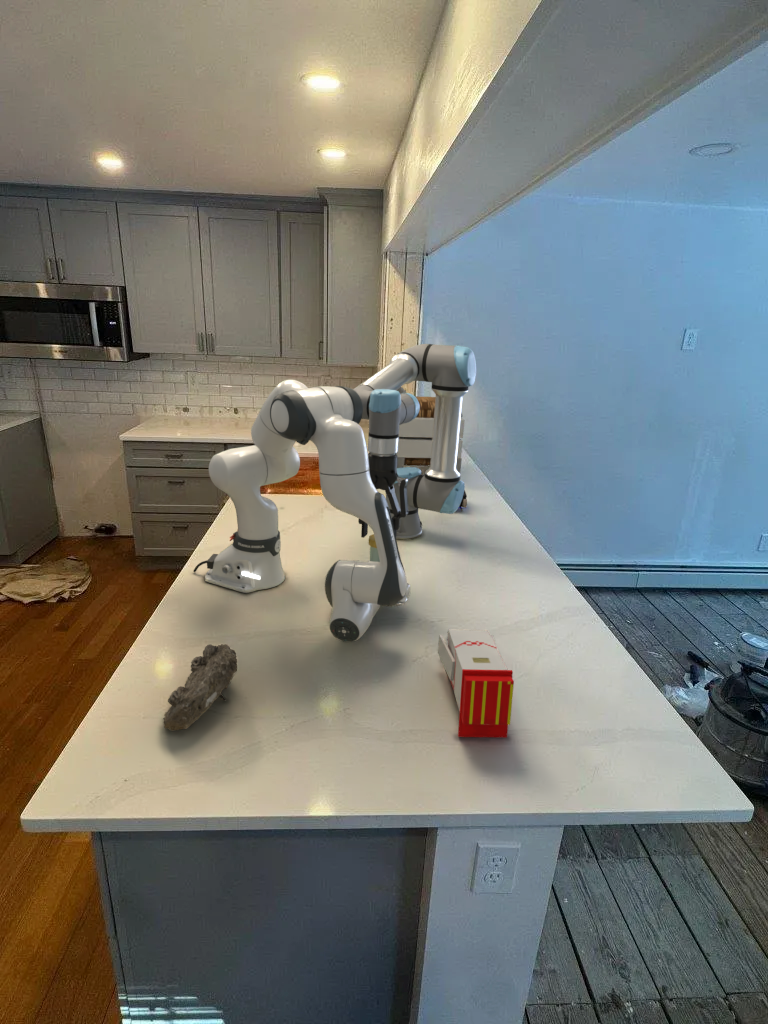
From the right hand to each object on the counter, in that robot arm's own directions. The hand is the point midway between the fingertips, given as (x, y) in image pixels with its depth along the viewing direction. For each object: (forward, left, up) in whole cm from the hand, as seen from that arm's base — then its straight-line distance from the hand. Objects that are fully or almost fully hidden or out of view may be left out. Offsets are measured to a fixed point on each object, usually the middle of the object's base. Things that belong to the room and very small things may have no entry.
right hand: (378, 537), depth 149 cm
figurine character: (-39, +75, -18) cm, 87 cm away
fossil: (+12, -54, -18) cm, 58 cm away
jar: (0, 0, -18) cm, 18 cm away
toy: (+43, -10, -18) cm, 47 cm away
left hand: (-1, +1, -12) cm, 12 cm away
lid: (0, 0, 0) cm, 0 cm away
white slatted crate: (-84, +98, -18) cm, 130 cm away
